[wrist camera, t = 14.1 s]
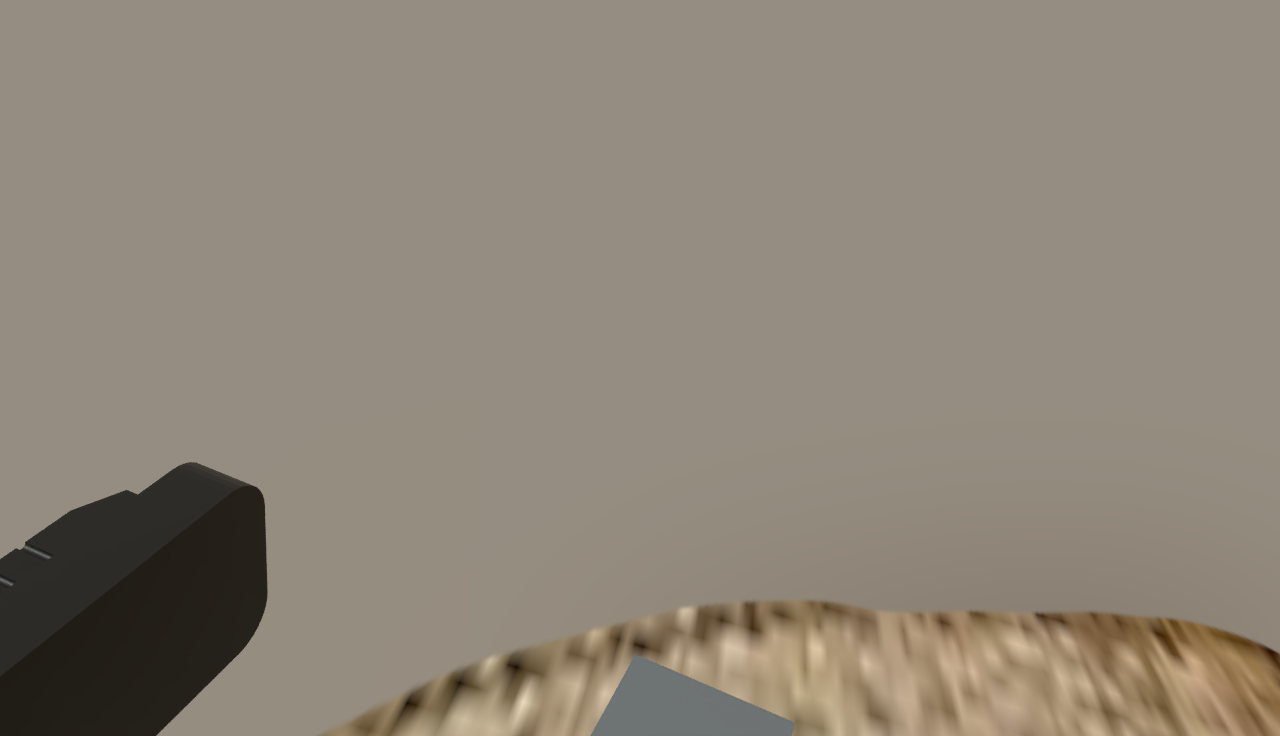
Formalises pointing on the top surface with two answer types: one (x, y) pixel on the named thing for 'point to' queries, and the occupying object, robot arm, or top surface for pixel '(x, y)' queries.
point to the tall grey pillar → (681, 708)
